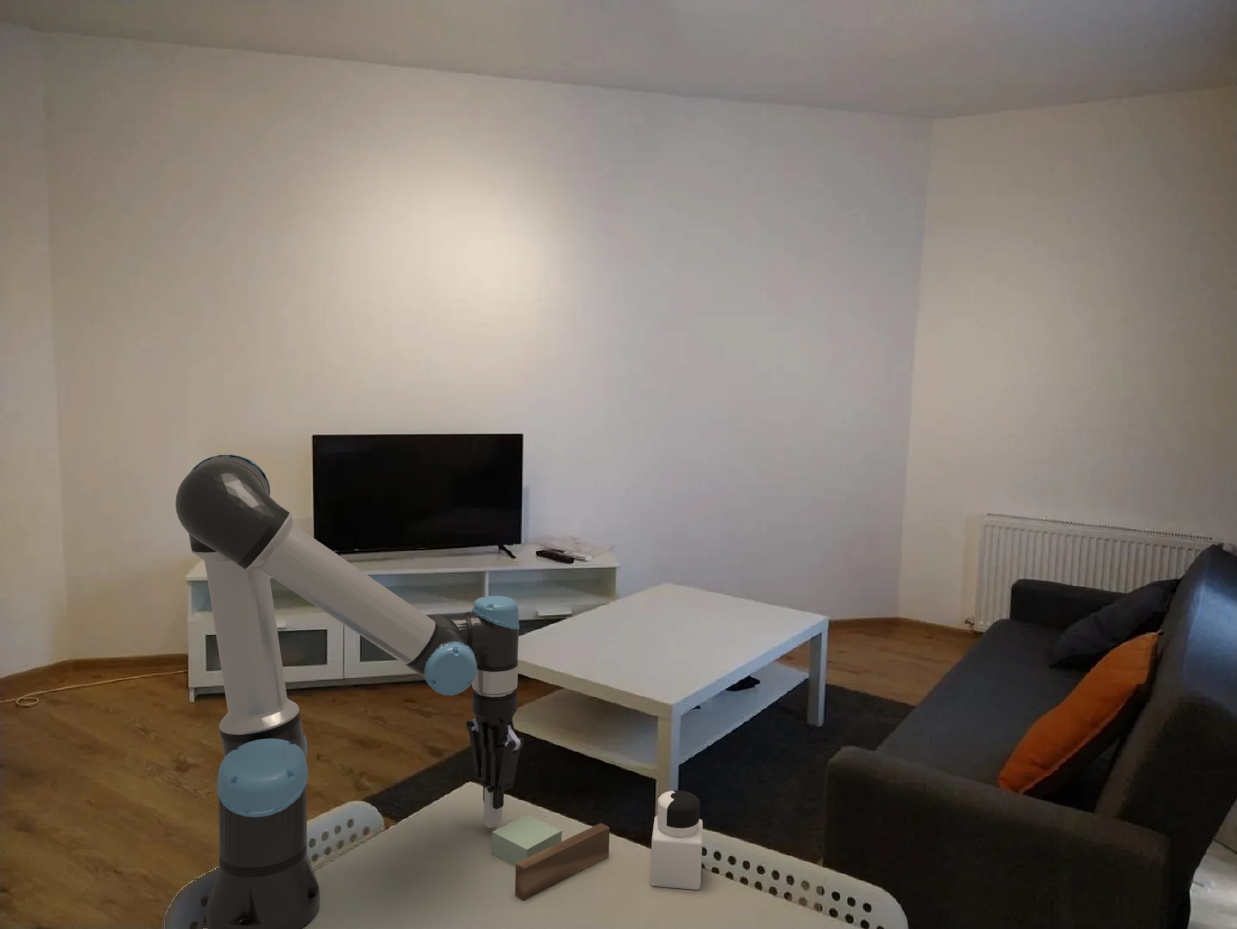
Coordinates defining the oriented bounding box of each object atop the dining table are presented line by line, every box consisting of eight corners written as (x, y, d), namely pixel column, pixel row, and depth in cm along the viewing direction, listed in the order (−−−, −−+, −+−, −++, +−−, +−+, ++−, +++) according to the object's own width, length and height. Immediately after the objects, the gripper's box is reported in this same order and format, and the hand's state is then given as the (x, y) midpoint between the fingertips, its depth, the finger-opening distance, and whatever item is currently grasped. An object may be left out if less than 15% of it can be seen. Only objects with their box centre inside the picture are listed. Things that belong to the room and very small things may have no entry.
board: (515, 895, 136) (515, 863, 135) (600, 852, 148) (601, 823, 148) (523, 900, 134) (524, 868, 134) (608, 856, 147) (609, 827, 147)
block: (491, 855, 147) (492, 832, 147) (526, 836, 153) (527, 814, 153) (526, 873, 142) (526, 849, 142) (561, 853, 148) (561, 830, 148)
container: (700, 864, 146) (704, 787, 144) (700, 891, 138) (703, 810, 137) (652, 860, 147) (655, 783, 145) (649, 887, 139) (652, 806, 138)
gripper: (537, 694, 149) (534, 830, 152) (488, 674, 158) (487, 803, 161) (501, 705, 144) (499, 846, 146) (453, 684, 153) (452, 817, 155)
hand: (493, 823), depth 154 cm, fingers closed
